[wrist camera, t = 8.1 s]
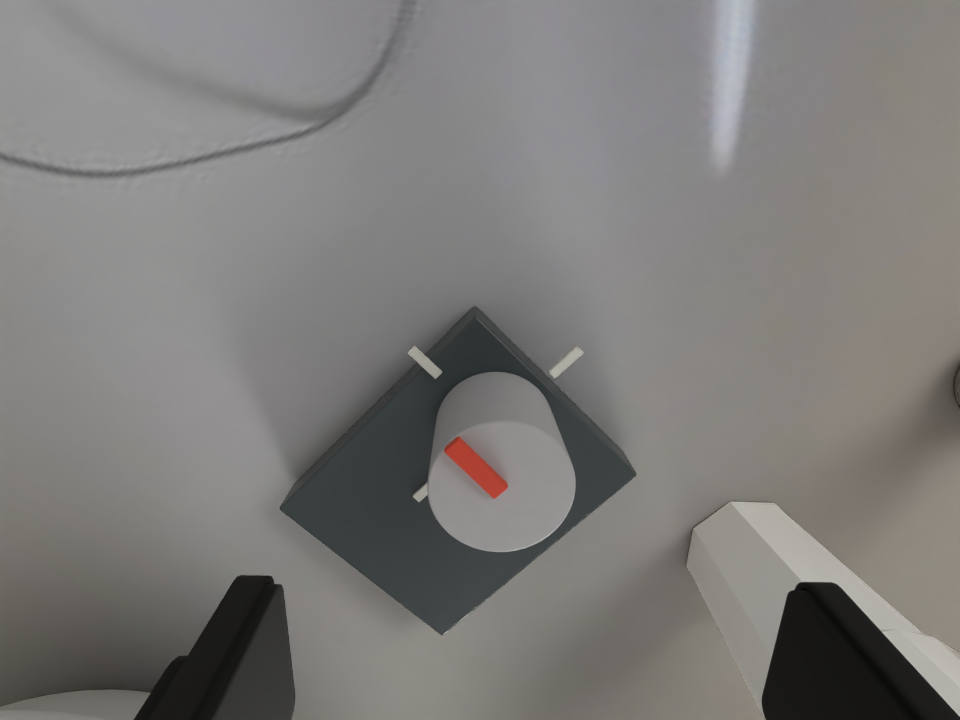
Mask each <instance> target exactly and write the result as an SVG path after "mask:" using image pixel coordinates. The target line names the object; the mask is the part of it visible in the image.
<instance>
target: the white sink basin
mask: <svg viewBox="0 0 960 720" xmlns="http://www.w3.org/2000/svg"><path fill="white" fill-rule="evenodd" d="M149 695H150V692H141V691H133V690H83V691H74V692H65V693H58V694H51V695H46V696H41V697H36V698H31V699H27V700H23V701H19V702H15V703H12V704H8V705H5V706H1V707H0V720H134V718H135V717H136V715H137V713H138V712H139V710H140V709H141V707H142V706H143V704H144V703H145V701H146V699H147V698H148V696H149Z"/></svg>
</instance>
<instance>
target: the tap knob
mask: <svg viewBox="0 0 960 720" xmlns="http://www.w3.org/2000/svg"><path fill="white" fill-rule="evenodd" d="M575 487H576V480H575V472H574V469H573V465H572V462H571V460H570V457H569V455H568V452H567V450H566V447H565V444H564V442H563V439H562V437H561V434H560V432H559V429H558V426H557V424H556V421H555V419H554V416H553V414H552V411H551V408H550V406H549V404H548V402H547V400H546V398H545V397H544V395H543V394H542V393H541V392H540V390H539V389H538V388H537V387H535V386H534V385H533V384H532V383H530V382H529V381H527V380H526V379H524V378H522V377H520V376H517V375H514V374H510V373H506V372H486V373H481V374H477V375H474V376H472V377H469V378H467V379H465V380H464V381H462V382H460V383H459V384H458V385H456V386H455V387H454V388H453V389H452V390H451V391H450V392H449V393H448V394H447V396H446V397H445V398H444V400H443V402H442V404H441V406H440V408H439V411H438V414H437V419H436V426H435V432H434V439H433V446H432V453H431V460H430V467H429V474H428V482H427V492H428V499H429V504H430V506H431V509H432V512H433V514H434V515H435V517H436V519H437V520H438V522H439V523H440V524H441V526H442V527H443V528H444V529H445V530H446V531H447V532H448V533H449V534H450V535H451V536H453V537H454V538H455V539H457V540H458V541H460V542H462V543H464V544H466V545H468V546H470V547H473V548H476V549H480V550H485V551H491V552H509V551H515V550H520V549H523V548H527V547H529V546H532V545H534V544H536V543H538V542H540V541H542V540H543V539H545V538H546V537H548V536H549V535H550V534H552V533H553V532H554V531H555V530H556V529H557V528H558V527H559V526H560V525H561V523H562V522H563V521H564V519H565V518H566V516H567V514H568V512H569V510H570V508H571V506H572V503H573V500H574V495H575Z"/></svg>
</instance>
